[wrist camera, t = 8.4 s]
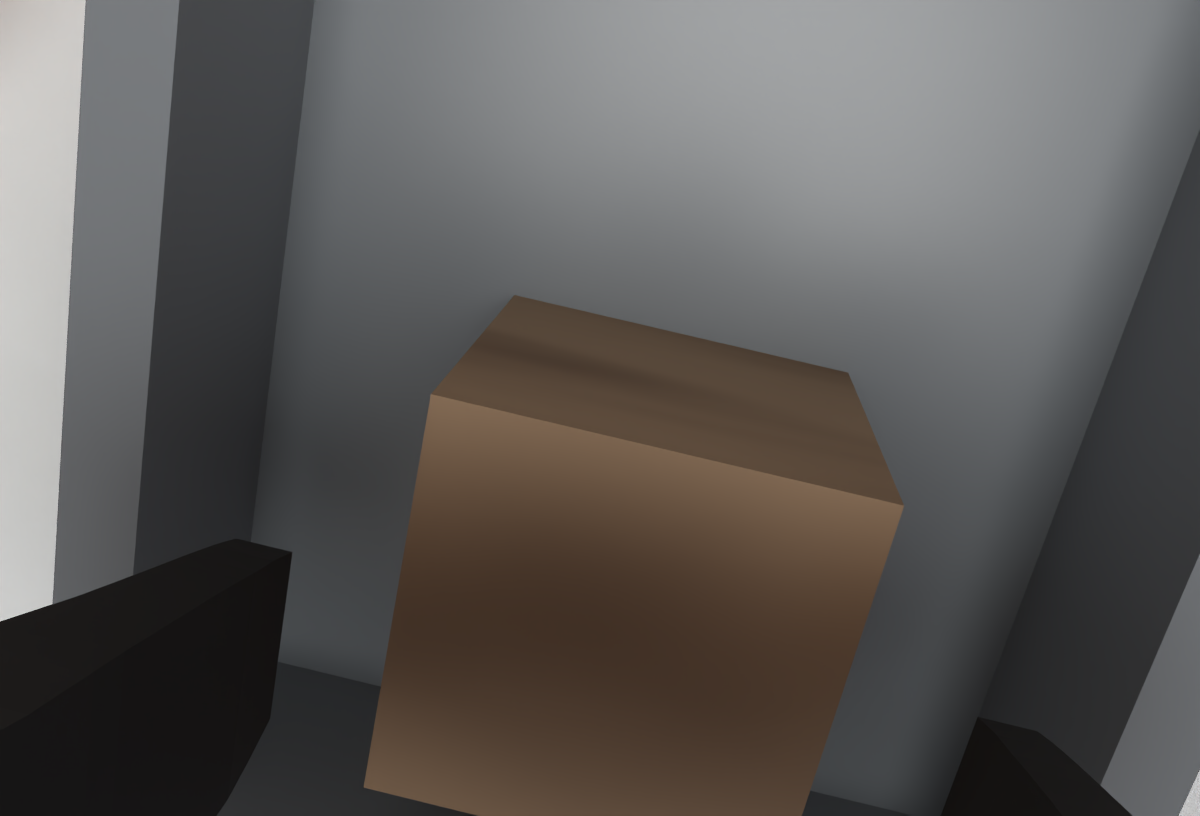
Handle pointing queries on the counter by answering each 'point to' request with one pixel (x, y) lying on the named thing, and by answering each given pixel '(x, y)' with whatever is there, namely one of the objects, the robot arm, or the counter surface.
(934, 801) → the tote
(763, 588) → the walnut cube
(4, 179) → the counter surface
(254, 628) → the robot arm
